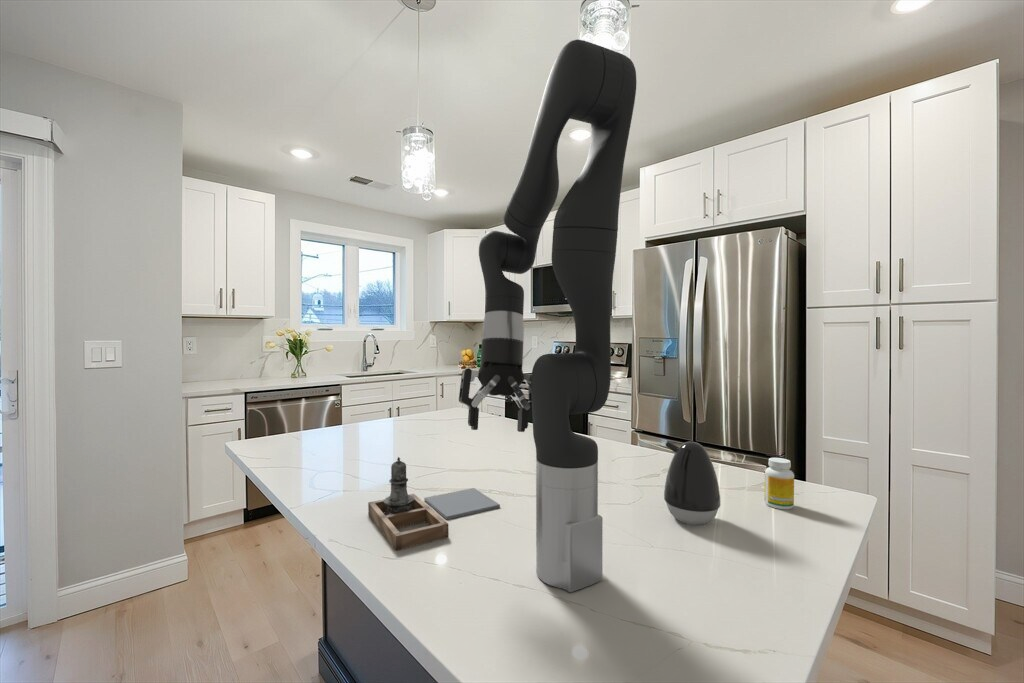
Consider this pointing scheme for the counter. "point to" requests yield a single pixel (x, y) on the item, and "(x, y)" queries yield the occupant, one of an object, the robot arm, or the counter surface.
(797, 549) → the counter surface
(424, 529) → the spice caddy
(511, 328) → the robot arm
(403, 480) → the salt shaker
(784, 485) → the supplement bottle
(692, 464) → the pump dispenser
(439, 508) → the slate tile
